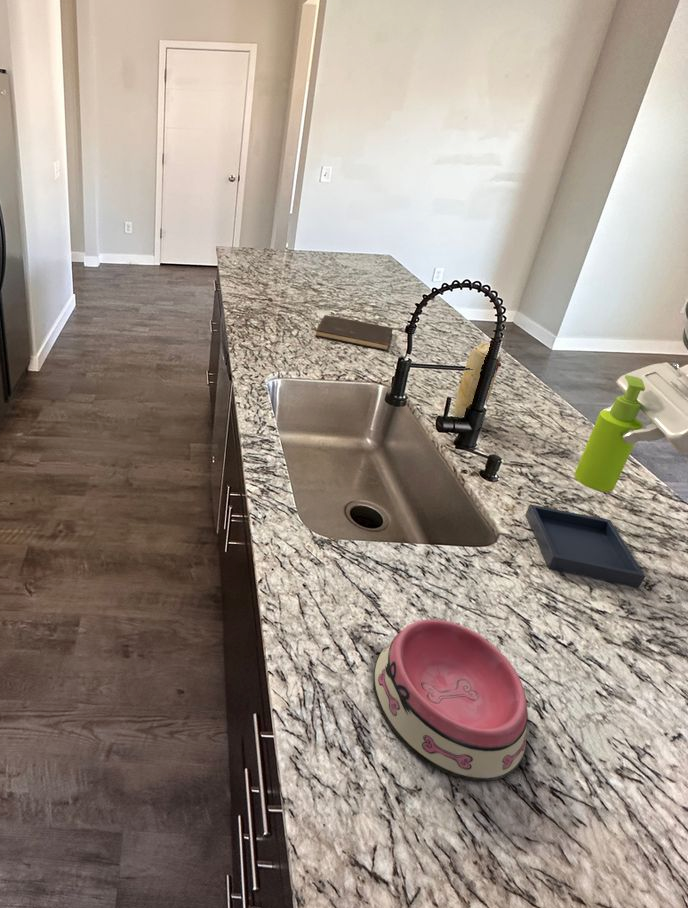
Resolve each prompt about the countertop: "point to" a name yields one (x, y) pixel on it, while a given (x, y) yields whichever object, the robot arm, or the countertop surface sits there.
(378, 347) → the hardcover book
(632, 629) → the countertop surface
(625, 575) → the drip tray
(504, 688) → the dog bowl
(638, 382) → the soap dispenser
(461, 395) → the food model
